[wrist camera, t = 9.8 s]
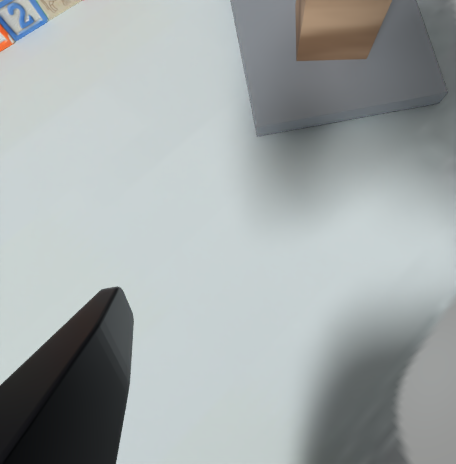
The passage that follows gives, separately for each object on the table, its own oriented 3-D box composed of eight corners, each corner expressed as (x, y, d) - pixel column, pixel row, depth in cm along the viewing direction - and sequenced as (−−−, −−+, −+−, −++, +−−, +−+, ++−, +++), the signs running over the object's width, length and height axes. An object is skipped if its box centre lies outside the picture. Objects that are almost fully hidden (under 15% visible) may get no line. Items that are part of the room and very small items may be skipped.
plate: (438, 103, 23) (448, 92, 22) (257, 136, 24) (257, 127, 22) (390, -40, 26) (396, -57, 25) (228, -8, 26) (227, -23, 25)
